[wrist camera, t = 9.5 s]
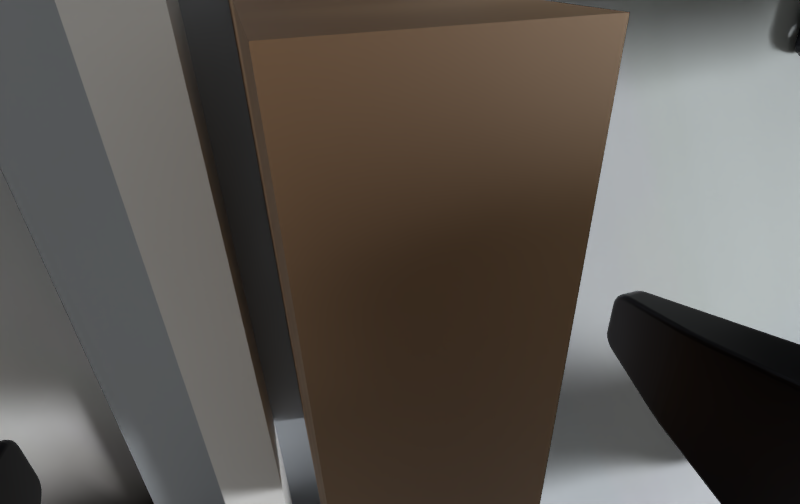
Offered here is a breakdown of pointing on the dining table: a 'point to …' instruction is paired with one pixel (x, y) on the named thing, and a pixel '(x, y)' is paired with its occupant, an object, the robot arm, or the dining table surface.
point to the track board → (158, 237)
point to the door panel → (429, 227)
